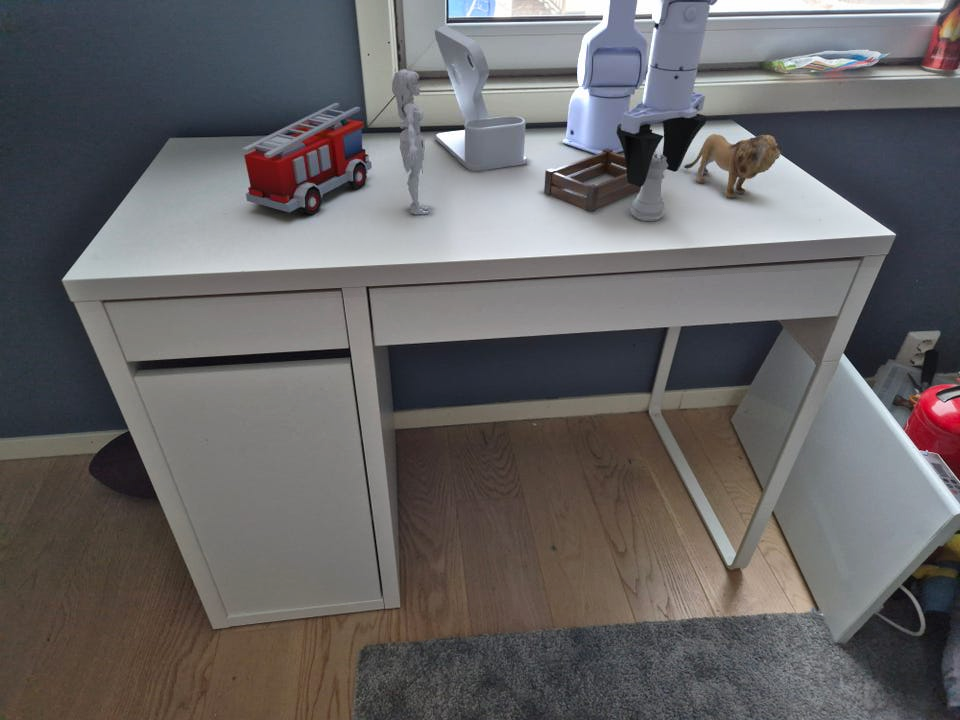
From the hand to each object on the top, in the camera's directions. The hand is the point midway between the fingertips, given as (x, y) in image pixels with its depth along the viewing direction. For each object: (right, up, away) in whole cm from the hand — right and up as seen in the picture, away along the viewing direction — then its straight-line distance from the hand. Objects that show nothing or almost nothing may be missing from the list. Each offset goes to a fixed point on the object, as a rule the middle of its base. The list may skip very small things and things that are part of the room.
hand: (653, 176), depth 85 cm
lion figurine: (+14, +1, +12) cm, 18 cm away
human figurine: (-32, -4, +3) cm, 32 cm away
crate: (-5, +1, +10) cm, 11 cm away
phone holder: (-23, +11, +23) cm, 34 cm away
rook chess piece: (0, -5, +3) cm, 6 cm away
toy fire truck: (-46, -1, +8) cm, 47 cm away
